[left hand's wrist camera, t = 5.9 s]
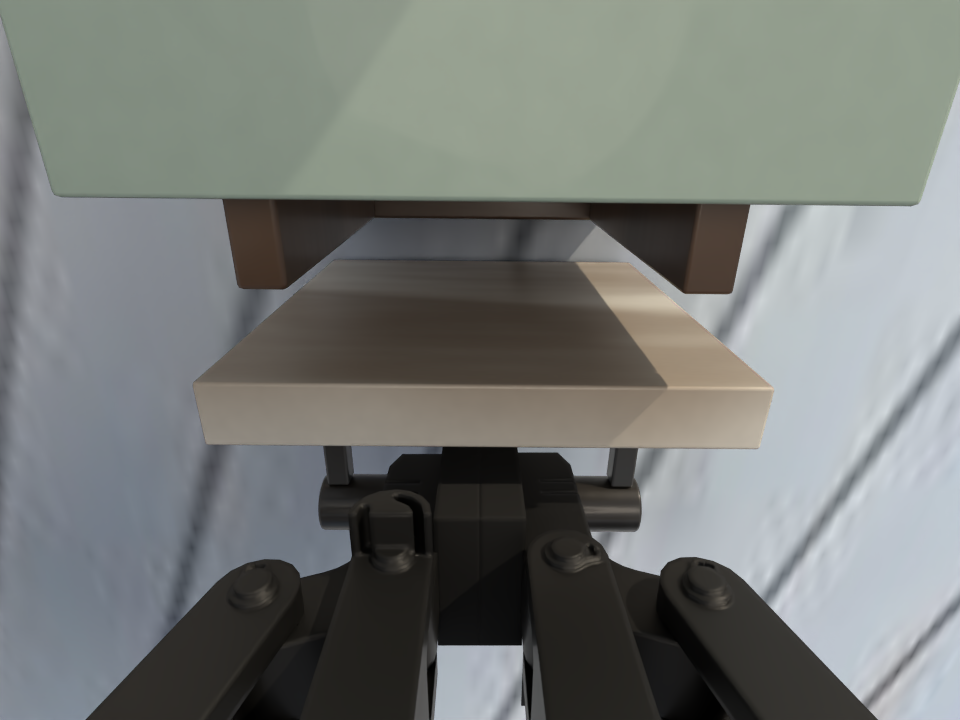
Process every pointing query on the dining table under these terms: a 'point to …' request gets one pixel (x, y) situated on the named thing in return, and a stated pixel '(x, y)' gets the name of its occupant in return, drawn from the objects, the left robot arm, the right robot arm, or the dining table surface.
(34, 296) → the dining table surface
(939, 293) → the dining table surface
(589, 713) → the left robot arm
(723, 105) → the cabinet
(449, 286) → the drawer
